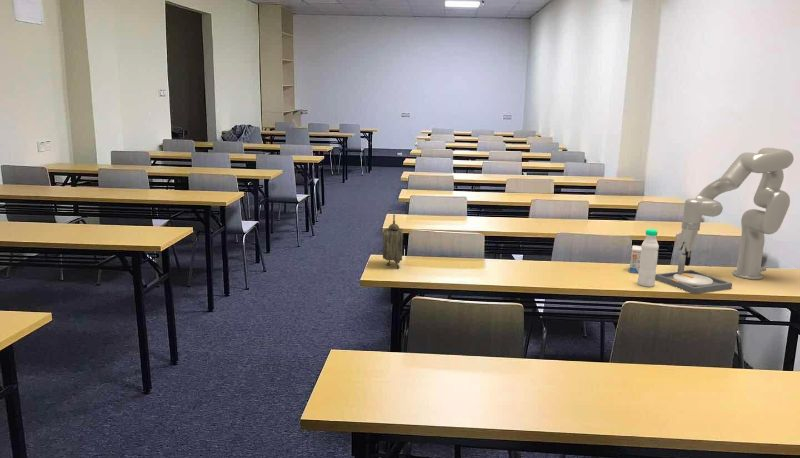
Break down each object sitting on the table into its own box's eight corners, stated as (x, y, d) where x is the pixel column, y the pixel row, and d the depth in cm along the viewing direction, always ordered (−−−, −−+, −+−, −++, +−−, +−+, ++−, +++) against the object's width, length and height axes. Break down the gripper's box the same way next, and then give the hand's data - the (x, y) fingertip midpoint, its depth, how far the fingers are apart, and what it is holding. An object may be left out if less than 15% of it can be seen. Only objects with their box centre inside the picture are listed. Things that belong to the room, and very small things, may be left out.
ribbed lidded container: (401, 270, 284) (402, 217, 279) (382, 269, 284) (383, 217, 279) (402, 261, 298) (403, 212, 293) (383, 261, 299) (384, 211, 293)
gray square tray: (690, 275, 285) (691, 269, 284) (731, 288, 265) (732, 282, 264) (654, 279, 277) (655, 273, 276) (693, 293, 257) (694, 287, 256)
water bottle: (655, 287, 264) (662, 232, 259) (638, 286, 266) (644, 231, 260) (652, 283, 271) (658, 228, 266) (636, 281, 272) (641, 227, 267)
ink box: (629, 272, 287) (631, 248, 285) (629, 268, 295) (631, 244, 292) (648, 274, 284) (651, 250, 282) (648, 270, 292) (651, 246, 289)
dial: (720, 284, 266) (724, 261, 264) (693, 288, 260) (696, 264, 258) (690, 274, 281) (693, 252, 279) (664, 277, 275) (667, 255, 273)
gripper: (688, 222, 284) (683, 260, 288) (675, 226, 273) (670, 265, 277) (705, 225, 279) (699, 264, 282) (693, 229, 268) (687, 269, 272)
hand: (685, 264), depth 280 cm, fingers closed
